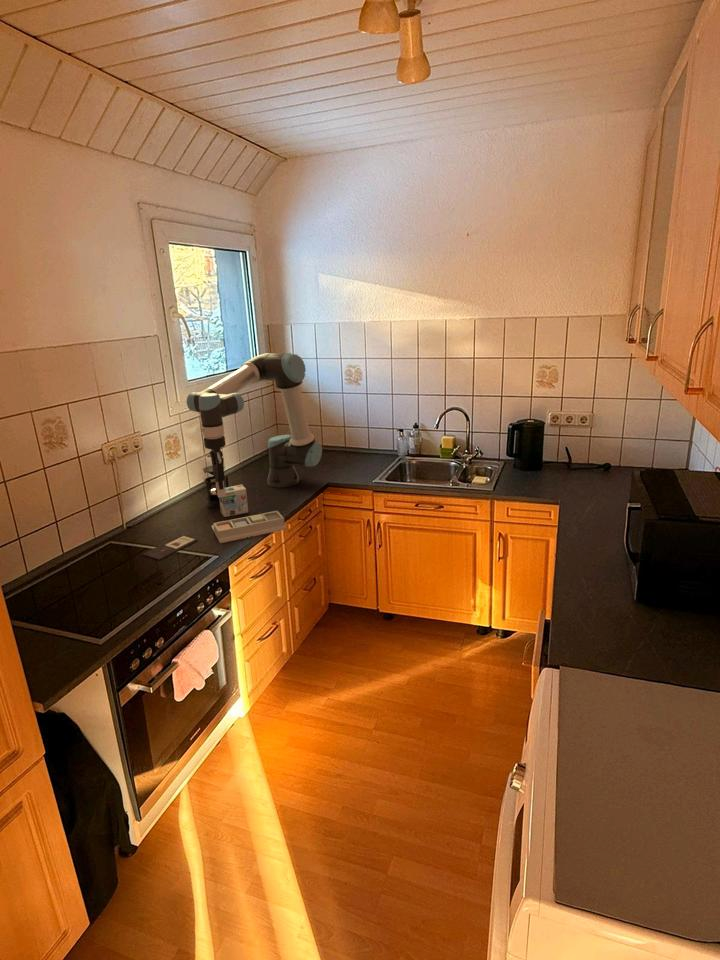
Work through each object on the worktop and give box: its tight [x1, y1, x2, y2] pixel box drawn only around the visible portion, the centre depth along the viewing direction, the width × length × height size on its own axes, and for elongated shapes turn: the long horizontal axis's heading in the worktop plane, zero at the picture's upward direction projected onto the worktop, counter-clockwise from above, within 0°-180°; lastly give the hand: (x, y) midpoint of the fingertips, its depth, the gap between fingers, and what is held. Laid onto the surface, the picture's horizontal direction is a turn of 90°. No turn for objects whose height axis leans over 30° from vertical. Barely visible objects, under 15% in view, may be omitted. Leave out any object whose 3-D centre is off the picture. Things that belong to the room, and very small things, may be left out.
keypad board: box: [211, 510, 287, 544], centre depth 221 cm, size 26×16×4 cm, turn 115°
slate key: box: [234, 521, 248, 527], centre depth 219 cm, size 4×4×2 cm
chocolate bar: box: [142, 534, 198, 561], centre depth 208 cm, size 9×1×18 cm
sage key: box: [250, 514, 264, 524], centre depth 221 cm, size 4×4×2 cm
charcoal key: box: [266, 514, 279, 520], centre depth 224 cm, size 4×4×2 cm
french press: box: [202, 454, 230, 509], centre depth 245 cm, size 12×9×23 cm
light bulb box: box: [219, 484, 249, 518], centre depth 237 cm, size 11×7×11 cm, turn 118°
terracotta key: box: [217, 524, 231, 530], centre depth 216 cm, size 4×4×2 cm
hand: (221, 496), depth 213 cm, fingers closed
